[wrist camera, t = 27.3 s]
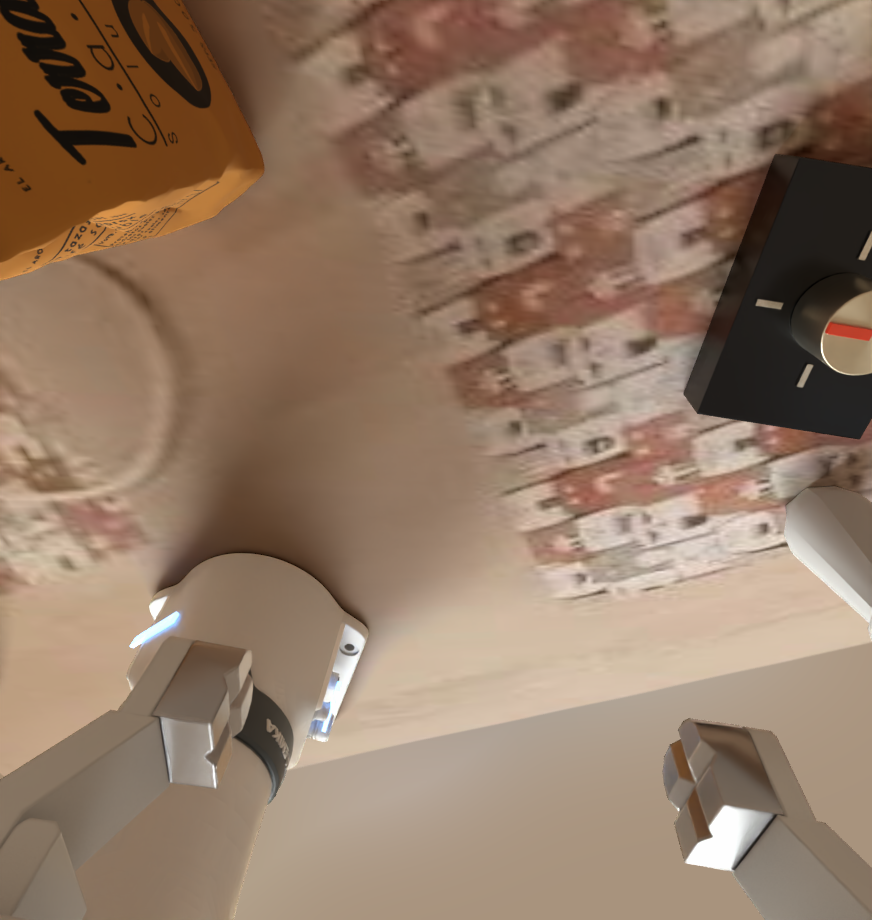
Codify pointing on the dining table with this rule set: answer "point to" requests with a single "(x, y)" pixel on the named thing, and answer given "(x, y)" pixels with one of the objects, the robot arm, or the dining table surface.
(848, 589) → the salt shaker
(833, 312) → the dial
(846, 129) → the dining table surface
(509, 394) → the dining table surface
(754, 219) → the timer panel
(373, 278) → the dining table surface
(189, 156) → the coffee package
